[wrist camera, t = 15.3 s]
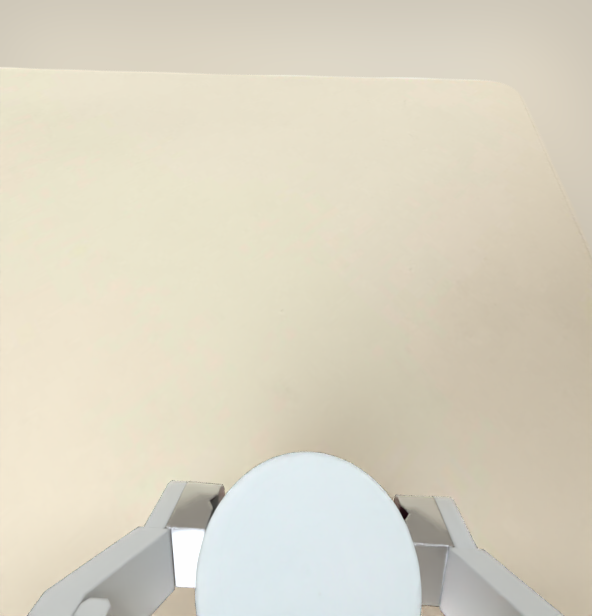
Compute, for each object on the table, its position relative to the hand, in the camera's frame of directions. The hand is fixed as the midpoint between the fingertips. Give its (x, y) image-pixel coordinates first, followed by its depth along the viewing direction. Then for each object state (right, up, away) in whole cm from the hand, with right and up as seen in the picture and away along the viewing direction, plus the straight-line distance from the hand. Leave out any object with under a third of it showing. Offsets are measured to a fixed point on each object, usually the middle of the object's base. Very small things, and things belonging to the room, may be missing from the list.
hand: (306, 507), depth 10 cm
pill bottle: (0, -3, +4) cm, 5 cm away
